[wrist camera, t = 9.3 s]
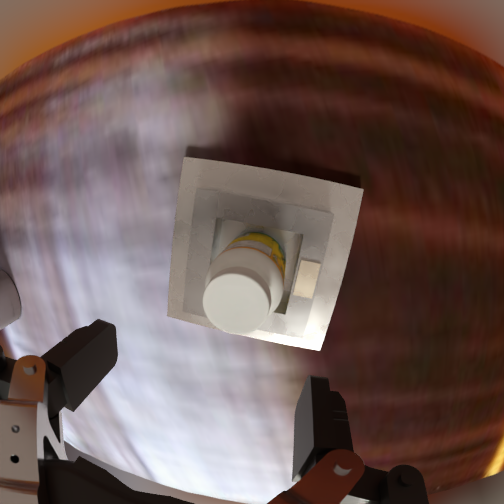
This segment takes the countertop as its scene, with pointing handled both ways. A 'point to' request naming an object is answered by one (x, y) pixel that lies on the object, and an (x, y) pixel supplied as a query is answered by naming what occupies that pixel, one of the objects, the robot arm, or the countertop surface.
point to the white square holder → (273, 223)
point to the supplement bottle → (245, 283)
